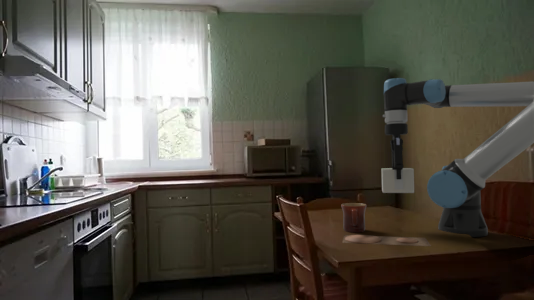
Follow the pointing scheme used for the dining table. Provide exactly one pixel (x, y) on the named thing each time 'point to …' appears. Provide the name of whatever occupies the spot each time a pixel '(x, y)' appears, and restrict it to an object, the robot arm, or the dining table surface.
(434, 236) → the dining table surface
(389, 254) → the dining table surface
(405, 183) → the white rectangular block
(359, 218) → the mug
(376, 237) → the board
